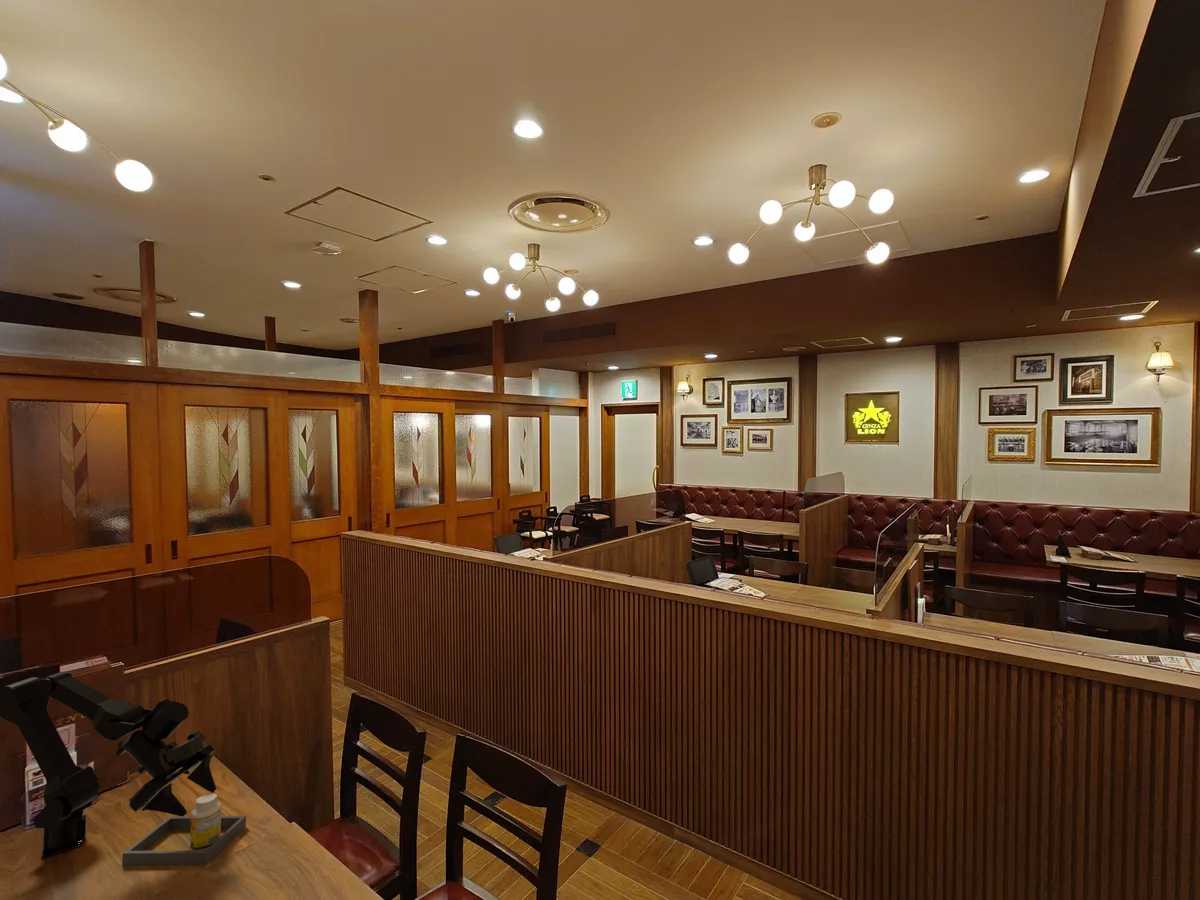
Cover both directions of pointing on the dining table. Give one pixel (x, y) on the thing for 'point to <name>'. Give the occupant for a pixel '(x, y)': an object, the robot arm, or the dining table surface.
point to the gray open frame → (181, 857)
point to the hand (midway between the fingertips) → (200, 802)
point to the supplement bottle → (205, 822)
